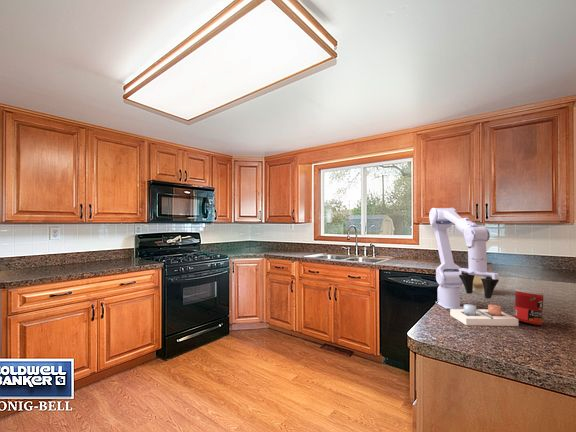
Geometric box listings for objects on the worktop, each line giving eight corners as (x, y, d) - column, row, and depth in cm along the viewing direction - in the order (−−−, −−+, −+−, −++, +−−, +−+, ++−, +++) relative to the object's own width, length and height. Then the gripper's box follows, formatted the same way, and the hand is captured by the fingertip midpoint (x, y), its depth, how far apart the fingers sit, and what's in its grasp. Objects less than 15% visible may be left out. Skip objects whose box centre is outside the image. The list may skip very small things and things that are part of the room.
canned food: (532, 324, 97) (533, 292, 98) (508, 317, 105) (510, 288, 106) (548, 325, 99) (549, 294, 100) (524, 319, 107) (525, 290, 108)
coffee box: (467, 291, 148) (467, 261, 149) (474, 290, 152) (473, 260, 152) (487, 295, 141) (486, 263, 141) (493, 293, 144) (492, 262, 144)
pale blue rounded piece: (461, 313, 108) (461, 304, 108) (472, 313, 108) (472, 304, 108) (467, 316, 104) (467, 307, 104) (478, 316, 104) (478, 307, 104)
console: (450, 315, 111) (450, 307, 112) (497, 315, 111) (496, 308, 111) (466, 325, 100) (466, 316, 101) (518, 326, 100) (518, 317, 100)
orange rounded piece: (485, 313, 107) (485, 304, 107) (496, 313, 107) (496, 304, 107) (492, 317, 103) (492, 307, 103) (504, 317, 103) (503, 307, 103)
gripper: (452, 257, 110) (453, 292, 110) (487, 261, 96) (488, 301, 96) (466, 256, 112) (467, 290, 112) (503, 260, 98) (504, 300, 98)
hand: (478, 295), depth 104 cm, fingers open, 7 cm apart
